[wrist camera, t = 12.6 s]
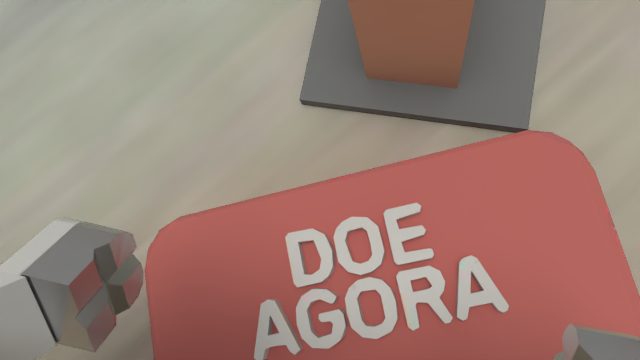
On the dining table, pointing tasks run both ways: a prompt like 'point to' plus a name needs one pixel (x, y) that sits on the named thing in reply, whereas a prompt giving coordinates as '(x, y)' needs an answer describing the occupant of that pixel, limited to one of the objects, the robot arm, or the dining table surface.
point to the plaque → (400, 263)
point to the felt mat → (427, 100)
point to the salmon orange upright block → (412, 39)
